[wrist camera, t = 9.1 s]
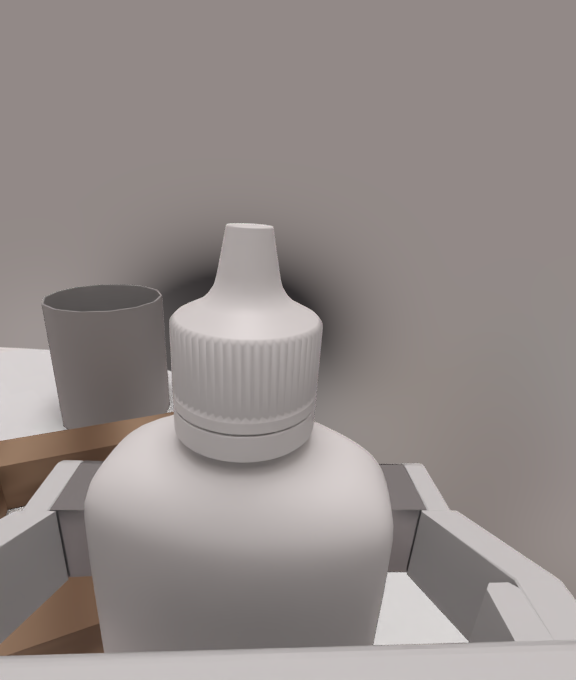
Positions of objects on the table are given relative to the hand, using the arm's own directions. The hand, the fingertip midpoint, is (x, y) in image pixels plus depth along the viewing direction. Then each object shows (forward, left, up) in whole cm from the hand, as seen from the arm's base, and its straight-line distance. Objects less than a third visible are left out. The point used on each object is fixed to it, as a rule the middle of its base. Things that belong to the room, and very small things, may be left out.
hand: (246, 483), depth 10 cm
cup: (-3, +25, -12) cm, 28 cm away
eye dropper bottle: (-1, -2, -6) cm, 6 cm away
